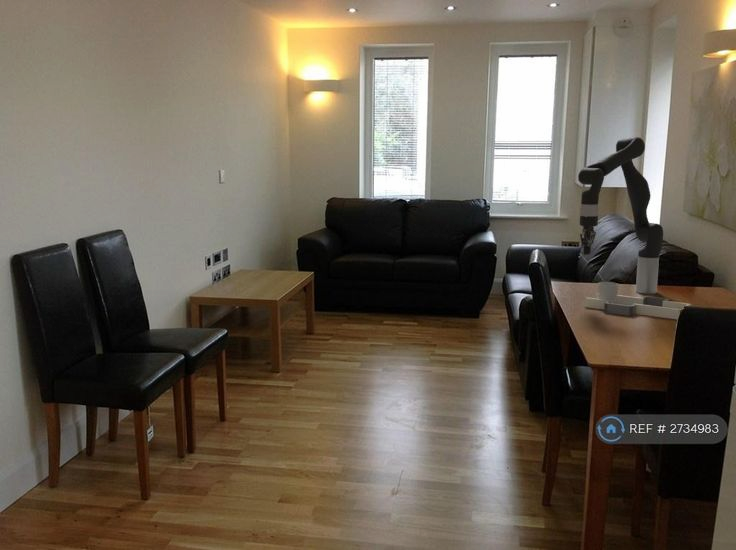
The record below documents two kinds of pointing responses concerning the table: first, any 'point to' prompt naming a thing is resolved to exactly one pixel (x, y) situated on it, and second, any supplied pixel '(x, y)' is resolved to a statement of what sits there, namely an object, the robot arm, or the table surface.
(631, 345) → the table surface
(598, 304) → the box
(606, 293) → the cup
